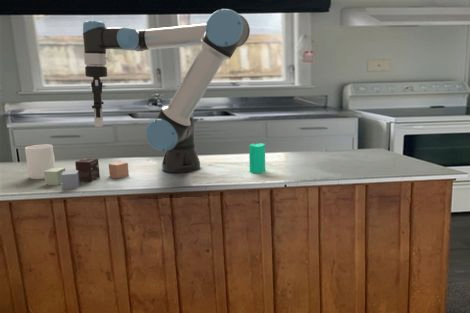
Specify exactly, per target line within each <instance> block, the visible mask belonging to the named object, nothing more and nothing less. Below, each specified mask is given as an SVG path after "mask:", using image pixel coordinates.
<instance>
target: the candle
mask: <svg viewBox="0 0 470 313" xmlns="http://www.w3.org/2000/svg"><path fill="white" fill-rule="evenodd" d="M248 146H249V147H248V148H249V172H250V174H264V173H265V172H266V143H263V142H262V143H261V142H260V143H251V144H249V145H248Z"/></svg>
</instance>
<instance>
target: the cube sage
mask: <svg viewBox="0 0 470 313" xmlns="http://www.w3.org/2000/svg"><path fill="white" fill-rule="evenodd" d="M63 171H66V168H65V167H55V168H51V169H49V170H46V171H44V175H45V179H44V182H45V186H60V185H62V184H61V183H62V178H61V174H62V172H63ZM47 184H48V185H47ZM59 184H60V185H59Z"/></svg>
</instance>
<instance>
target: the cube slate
mask: <svg viewBox="0 0 470 313" xmlns="http://www.w3.org/2000/svg"><path fill="white" fill-rule="evenodd" d="M61 178H62V184H61V185H62V190H65V188H66V189H75V188H79V186H80V183H81V181H79V173H78V170H76V169H75V170H65V171H63V172H62V174H61Z"/></svg>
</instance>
